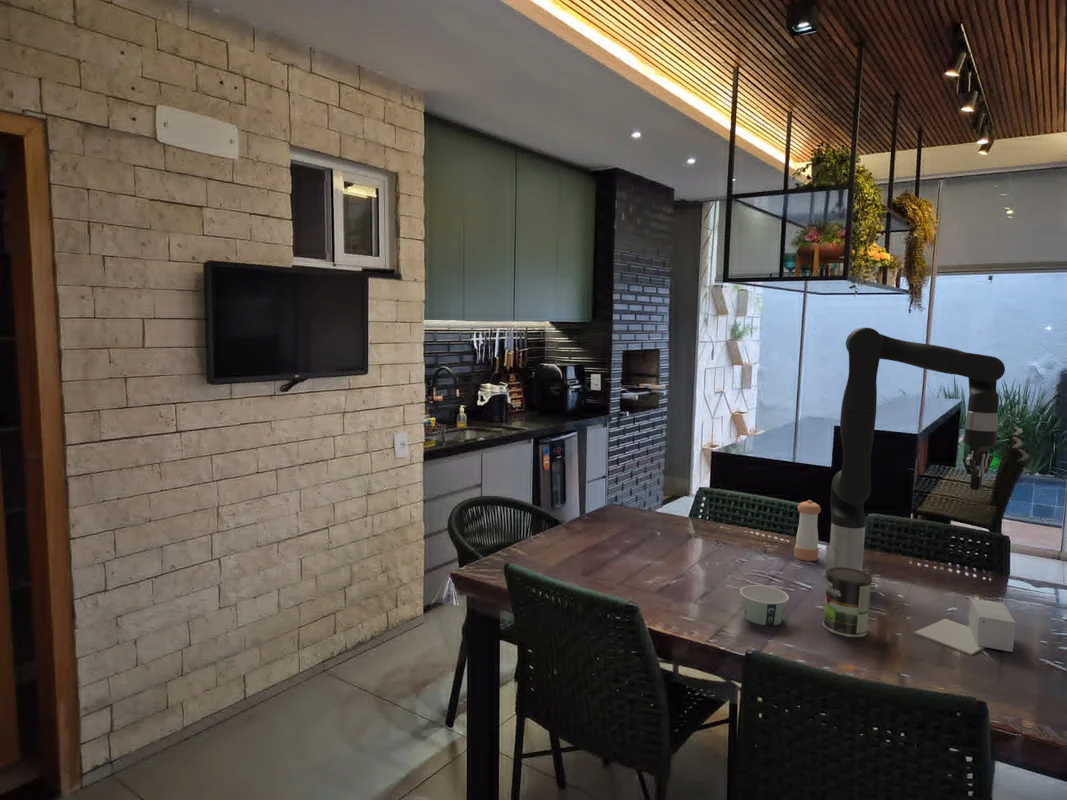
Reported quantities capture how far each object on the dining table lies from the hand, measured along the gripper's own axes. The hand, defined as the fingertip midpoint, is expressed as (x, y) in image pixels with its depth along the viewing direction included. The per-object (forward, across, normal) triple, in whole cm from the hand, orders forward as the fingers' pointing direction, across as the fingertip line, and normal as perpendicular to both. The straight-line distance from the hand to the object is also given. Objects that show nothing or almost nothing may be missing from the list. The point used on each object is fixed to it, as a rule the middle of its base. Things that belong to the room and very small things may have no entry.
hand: (975, 489), depth 191 cm
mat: (+31, -30, -12) cm, 45 cm away
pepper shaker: (+31, -11, +44) cm, 55 cm away
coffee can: (+31, -50, +6) cm, 59 cm away
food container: (+31, -62, +20) cm, 73 cm away
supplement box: (+27, -20, -14) cm, 36 cm away
